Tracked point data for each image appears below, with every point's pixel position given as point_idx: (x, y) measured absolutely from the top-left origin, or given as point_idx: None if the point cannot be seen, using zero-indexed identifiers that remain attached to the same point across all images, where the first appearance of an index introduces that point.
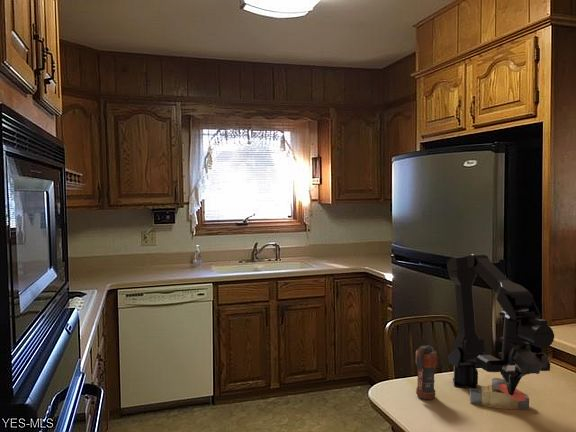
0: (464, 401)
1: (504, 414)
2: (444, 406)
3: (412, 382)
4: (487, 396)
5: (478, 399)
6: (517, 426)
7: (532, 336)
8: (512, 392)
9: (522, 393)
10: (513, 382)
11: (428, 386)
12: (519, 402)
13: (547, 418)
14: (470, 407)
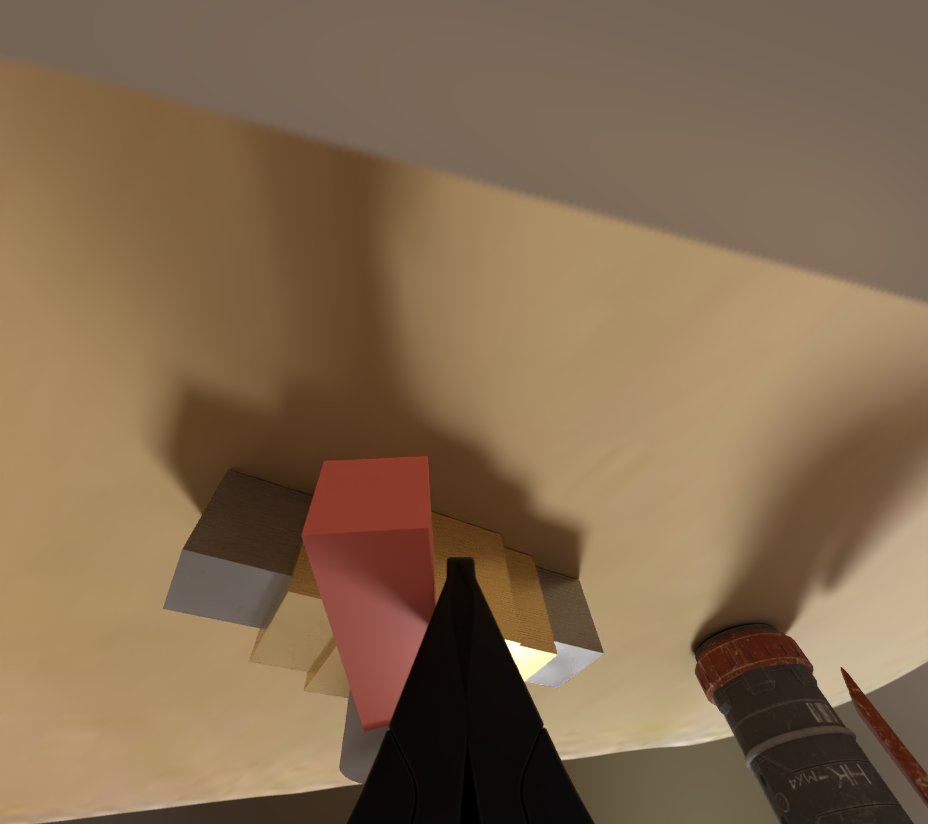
0: (591, 598)
1: (480, 438)
2: (753, 567)
3: (656, 727)
4: (515, 608)
5: (549, 597)
6: (542, 225)
7: None
8: (465, 586)
9: (341, 551)
10: (502, 773)
11: (815, 706)
12: (288, 531)
13: (122, 311)
14: (624, 543)
